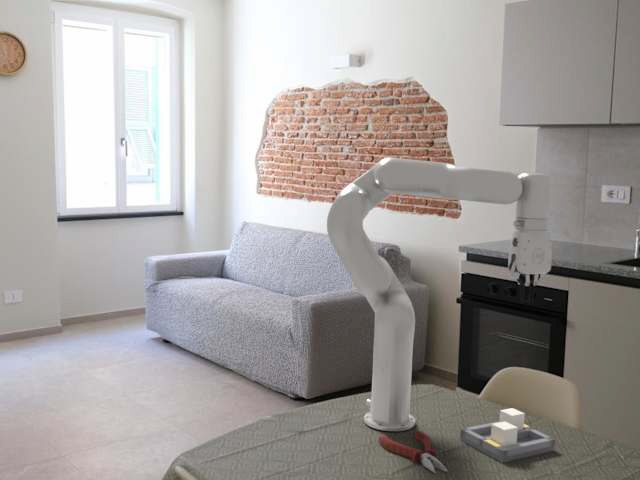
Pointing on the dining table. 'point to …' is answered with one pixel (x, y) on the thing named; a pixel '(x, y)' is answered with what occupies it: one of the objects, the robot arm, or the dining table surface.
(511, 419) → the tab
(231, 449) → the dining table surface
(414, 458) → the pliers
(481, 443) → the switch bank
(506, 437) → the tab
